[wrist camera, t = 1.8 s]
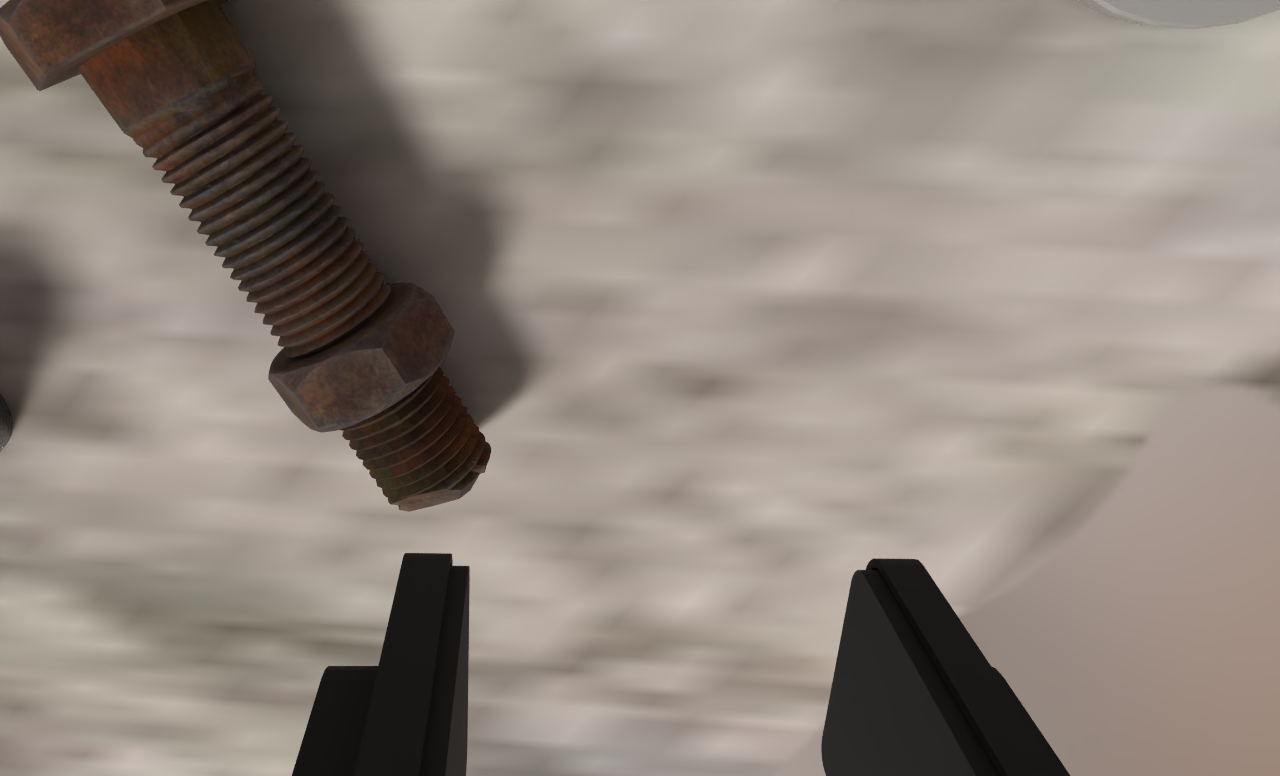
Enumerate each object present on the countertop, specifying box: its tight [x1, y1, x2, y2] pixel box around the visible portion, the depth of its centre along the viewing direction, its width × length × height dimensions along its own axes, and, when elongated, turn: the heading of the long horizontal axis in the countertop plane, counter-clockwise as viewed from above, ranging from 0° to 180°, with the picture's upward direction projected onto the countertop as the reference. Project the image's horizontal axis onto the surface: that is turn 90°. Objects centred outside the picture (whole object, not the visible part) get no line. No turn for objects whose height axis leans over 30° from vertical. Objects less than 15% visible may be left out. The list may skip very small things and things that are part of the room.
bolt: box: [0, 0, 491, 511], centre depth 25 cm, size 6×5×15 cm
